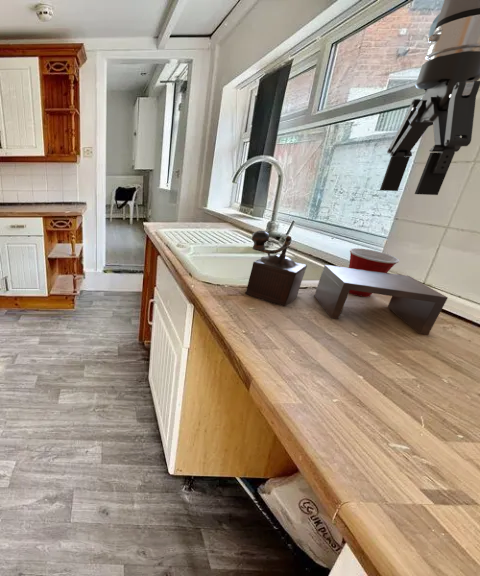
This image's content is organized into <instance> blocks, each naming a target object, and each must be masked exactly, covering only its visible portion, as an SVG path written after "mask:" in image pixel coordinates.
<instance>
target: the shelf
mask: <svg viewBox="0 0 480 576" xmlns="http://www.w3.org/2000/svg"><path fill="white" fill-rule="evenodd" d="M350 290H355V291H361V292H368V293H372V294H375V295H382V296H388V297H390V300H389V303H388V305H387V308H388V310H390V311H391V312H393V314H395V315H396V316H397V317H398V318H399V319H401V320H402V321H403V322H405V323H406V325H408V326H410V328H412V329H413V330H414V331H415V332H417V333H418V334H419V335H425V336H429V335H430V333H431V330H432V329H433V327H434V325H435V324H436V321H437V320H438V317H439V316H440V313H442V310H443V308H444V306H445V304H446V302H447V301H448V299H449V297H448V296H446V295H444V294H442V293H440V292H439V291H437V290H435V289H434V288H432V287H430V286H428V285H427V284H425V283H423V282H421V281H420V280H417V279H415V278H414V277H412V276H411V275H406V274H398V273H392V272H391V273H390V272H387V273H383V272H376V271H368V270H361V269H353V268H349V267H344V266H338V265H329V264H324V267H323V269H322V272H321V275H320V278H319V280H318V284H317V286H316V289H315V292H314V297H315V299H316V300H317V301H318V303H319V304H320V305H321V307H322V308H323V309H324V310H325V312H326V313H327V315H328V317H329V318H331V319H335V320H339V319H340V316H341V313H342V312H343V309H344V306H345V304H346V301H347V298H348V297H349V294H350V293H349V291H350Z"/></svg>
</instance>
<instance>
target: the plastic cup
mask: <svg viewBox="0 0 480 576" xmlns="http://www.w3.org/2000/svg"><path fill="white" fill-rule="evenodd" d="M349 253H350V256H349V263H348V268H353V269H361V270H368V271H376V272H383V273H389V271H390V270H391V269H392V268H393V267H394V266H395V265H396V264H398V263H400V259H399V258H397V257H396V256H394V255H391V254H389V253H385V252H382V251H377V250H373V249H368V248H367V249H366V248H360V247H359V248H357V247H354V248H350V250H349ZM348 294H350V295H354V296H358V297H363V298H369V297H371V296H372V295H373V293H368V292H361V291H355V290H350V291H349V293H348Z"/></svg>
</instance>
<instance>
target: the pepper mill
mask: <svg viewBox="0 0 480 576" xmlns="http://www.w3.org/2000/svg"><path fill="white" fill-rule="evenodd" d="M251 240H252V242H253V245H252V250H254V251H256V252H261V253H264V254H267V256H266V255H265V256H261V257H260V258H258V259H257V260H255V261H253V262H252V267H251V271H250V274H249V278H248V281H247V286H246V290H245V291H244V294H245V295H247V296H249V297H252V298H254V299H257V300H261V301H263V302H267V303H270V304H273V305H276V306H277V305H278V306H281V307H288V306H289V305H290V304H291V303H292V302H293V301H295V300H296V298H297V297H298V294H299V291H300V288H301V285H302V282H303V279H304V276H305V273H306V270H307V267H308V265H307V264H305V263H301V262H295V261H294V259H292V258H291V257H288V256H287V255H286V253H287V250H288V247H289V246H290V244H291V241H292V236H291V235H286V237H285V238H284V241H283V243H282V245H281V246H280V247H279V248H277V249H267V248H266V246H265V244H266V242H268V241H269V240H270V234H269V232H266V231H265V230H257V231H254V232H253V233H252V234H251ZM280 252H281V253H280Z"/></svg>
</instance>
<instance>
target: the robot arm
mask: <svg viewBox="0 0 480 576" xmlns="http://www.w3.org/2000/svg"><path fill="white" fill-rule="evenodd" d="M427 42H428V43H429V45H428V47H427V48H428V49H427V51H426V53H425V60H426V61H425V62H424V63H423V64H422V65H421V66H420V70H419V74H418V77H417V79H416V81H415V88H416V89H418V90H424V93H423V96H422V97H421V98H413V99H412V101H411V102H410V105H409V107H408V111H407V113H406V115H405V116H404V118H403V120H402V123H401V124H400V126H399V128H398V130H397V132H396V133H395V136H394V137H393V140H392V141H391V143H390V144H389V147H388V149H387V151H386V153H387V154H389V156H390V159H389V162H388V165H387V167H386V171H385V174H384V175H383V176H384V177H383V179H382V182H381V185H380V188H379V191H382V192H383V191H387V192H398V191H399V190H400V189H399V188H400V185H401V183H402V180H403V177H404V176H405V172H406V169H407V167H408V163H409V161H410V158H411V157H412V156H413V152H412V150H413V148H415V146H416V144H417V143H418V141H419V140H420V139H421V138H422V137H423V135H424V133H425V132H426V131H427V129H428V128H429V127H431V126H433V137H434V138H433V139H434V145H433V146H432V147H431V148H430V149H429V155H428V157H427V160H426V163H425V166H424V168H423V170H422V173H421V176H420V178H419V180H418V182H417V183H418V184H417V186H416V189H415V191H414V195H426V196H427V195H428V196H429V195H430V196H438V195H439V192H440V190H441V188H442V186H443V183H444V181H445V178H446V176H447V173H448V171H449V169H450V167H451V163H452V161H453V158H454V156H455V154H456V153H458V152H459V151H460V150H461V148H462V147H468V146H469V145H470V144H471V142H472V137H473V127H474V118H475V109H476V101H477V99H476V98H477V95H478V93H479V89H480V0H443V3H442V6H441V9H440V12H439V14H438V15H436V16H435V17H434V19H433V21H432V23H431V24H430V27H429V30H428V38H427Z"/></svg>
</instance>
